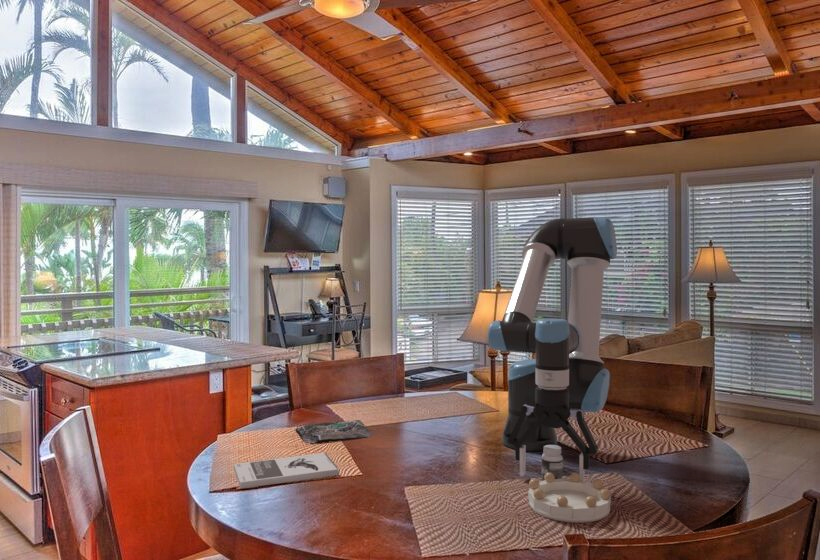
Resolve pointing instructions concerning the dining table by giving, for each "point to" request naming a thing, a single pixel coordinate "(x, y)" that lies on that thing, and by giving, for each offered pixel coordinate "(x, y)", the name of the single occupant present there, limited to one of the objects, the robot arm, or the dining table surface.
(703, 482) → the dining table surface
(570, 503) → the tray
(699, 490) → the dining table surface
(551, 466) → the pill bottle
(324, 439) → the terrain model
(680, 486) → the dining table surface
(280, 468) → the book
